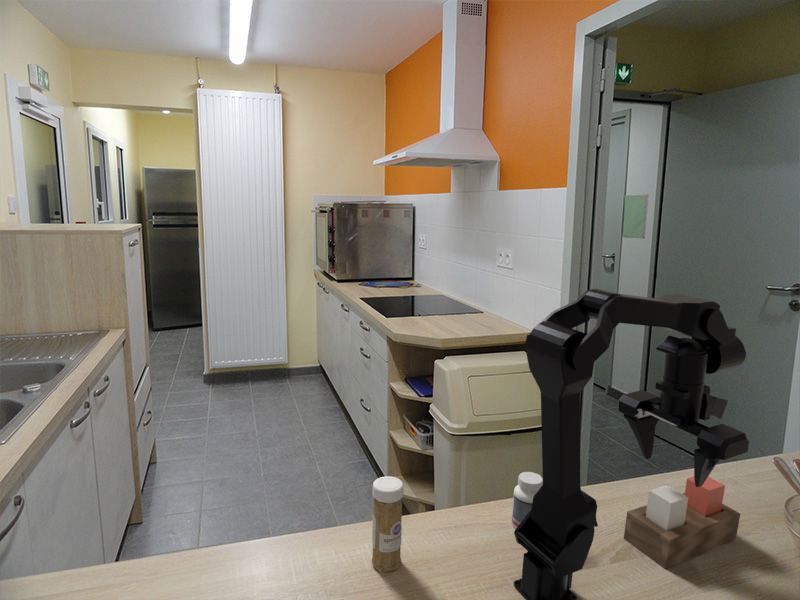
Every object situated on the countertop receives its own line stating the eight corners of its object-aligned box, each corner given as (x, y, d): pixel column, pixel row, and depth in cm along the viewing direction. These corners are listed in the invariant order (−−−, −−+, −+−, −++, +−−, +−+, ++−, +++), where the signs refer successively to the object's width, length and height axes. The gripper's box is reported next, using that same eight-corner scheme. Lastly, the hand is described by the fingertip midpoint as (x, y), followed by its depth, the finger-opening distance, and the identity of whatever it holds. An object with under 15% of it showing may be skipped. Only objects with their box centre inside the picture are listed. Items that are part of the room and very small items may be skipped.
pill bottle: (543, 536, 91) (547, 488, 89) (511, 532, 92) (515, 484, 90) (541, 518, 96) (546, 471, 94) (511, 513, 97) (514, 468, 95)
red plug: (704, 518, 89) (709, 490, 88) (682, 505, 93) (686, 478, 92) (720, 512, 91) (725, 485, 90) (698, 500, 95) (702, 473, 93)
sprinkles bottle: (391, 577, 80) (393, 494, 78) (365, 566, 83) (366, 485, 80) (406, 559, 84) (409, 480, 81) (381, 549, 86) (383, 471, 84)
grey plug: (666, 532, 85) (670, 503, 84) (645, 518, 89) (649, 490, 88) (684, 525, 87) (688, 497, 86) (662, 512, 91) (666, 484, 90)
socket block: (665, 569, 84) (669, 540, 83) (623, 538, 91) (627, 511, 90) (735, 540, 91) (740, 513, 90) (692, 514, 98) (696, 489, 97)
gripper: (780, 390, 78) (764, 488, 81) (666, 353, 94) (657, 436, 98) (729, 404, 73) (714, 508, 77) (619, 362, 90) (611, 449, 93)
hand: (672, 471), depth 86 cm, fingers open, 9 cm apart
